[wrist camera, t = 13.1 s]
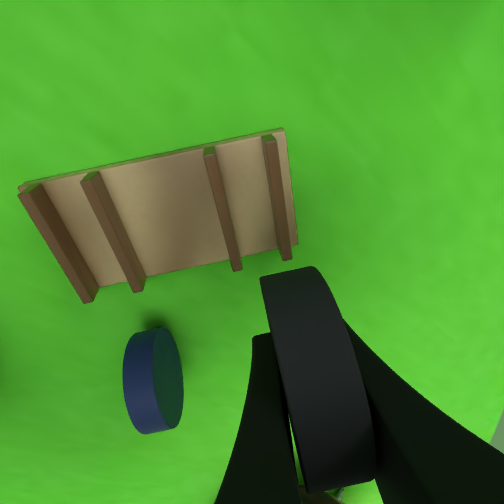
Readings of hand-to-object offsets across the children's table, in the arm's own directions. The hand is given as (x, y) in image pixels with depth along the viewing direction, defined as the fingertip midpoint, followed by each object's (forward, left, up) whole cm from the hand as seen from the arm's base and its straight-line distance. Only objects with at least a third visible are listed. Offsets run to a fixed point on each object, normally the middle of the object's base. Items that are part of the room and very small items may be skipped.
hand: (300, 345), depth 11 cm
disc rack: (-1, +5, -10) cm, 11 cm away
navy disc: (-12, +4, -10) cm, 16 cm away
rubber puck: (0, 0, -2) cm, 2 cm away
